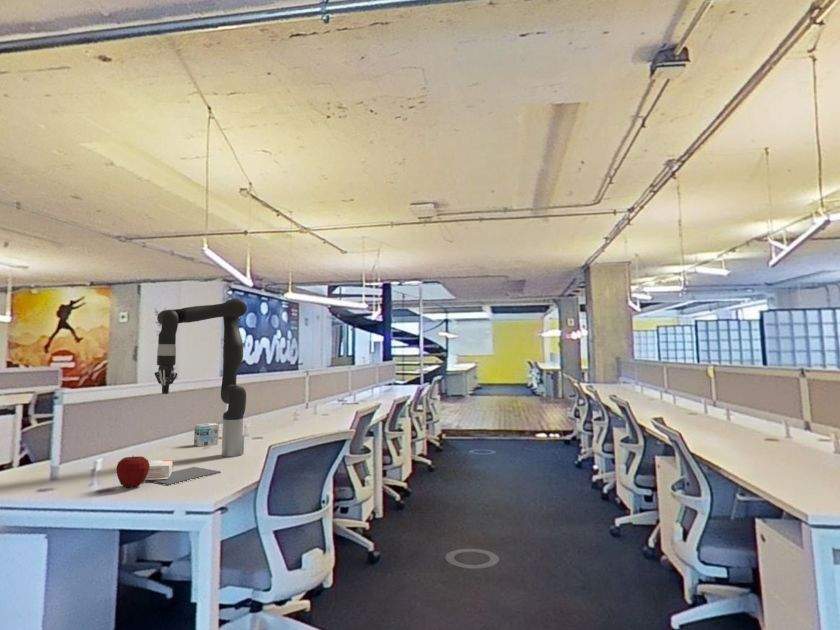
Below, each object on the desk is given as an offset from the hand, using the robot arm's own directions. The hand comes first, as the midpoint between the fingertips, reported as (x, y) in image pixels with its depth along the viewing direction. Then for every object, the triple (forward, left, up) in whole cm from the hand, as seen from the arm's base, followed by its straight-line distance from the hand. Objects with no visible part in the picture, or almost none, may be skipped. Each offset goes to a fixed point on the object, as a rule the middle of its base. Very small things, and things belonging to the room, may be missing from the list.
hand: (165, 393), depth 235 cm
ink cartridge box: (+11, +14, -28) cm, 33 cm away
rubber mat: (+10, +26, -31) cm, 42 cm away
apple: (+30, +24, -31) cm, 49 cm away
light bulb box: (-42, -22, -31) cm, 57 cm away
